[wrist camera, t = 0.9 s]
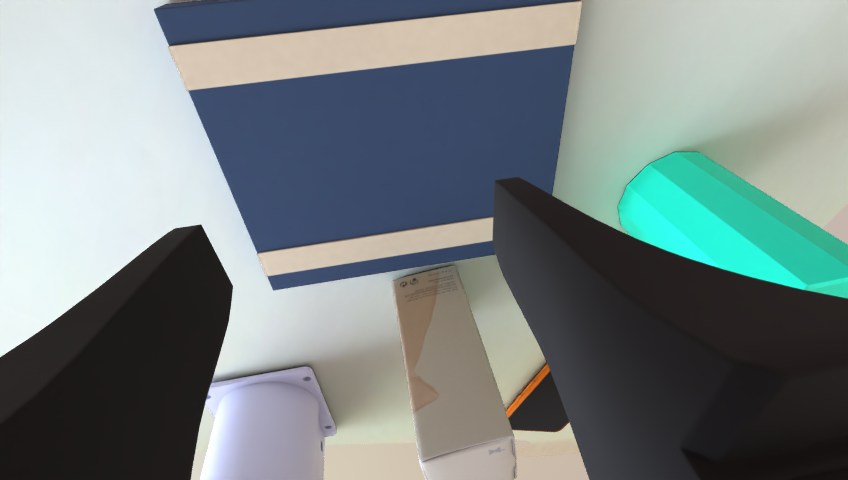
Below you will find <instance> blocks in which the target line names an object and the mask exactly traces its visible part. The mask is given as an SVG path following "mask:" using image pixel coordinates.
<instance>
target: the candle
mask: <svg viewBox="0 0 848 480" xmlns="http://www.w3.org/2000/svg"><path fill="white" fill-rule="evenodd" d="M618 211H619V217H620V223H621V225H622V226H623V228H624V229H625V230H626V231H627V232H628V233H629V234H630V235H631V236H632V237H634V238H636V239H639V240H641V241H644V242H646V243H649V244H651V245H654V246H656V247H659V248H661V249H664V250H667V251H669V252H672V253H675V254H678V255H681V256H683V257H686V258H689V259H693V260H696V261H699V262H702V263H705V264H708V265H711V266H715V267H718V268H721V269H724V270H728V271H731V272H735V273H739V274H742V275H746V276H749V277H753V278H757V279H761V280H765V281H769V282H773V283H778V284H782V285H786V286H790V287H794V288H798V289H803V290H808V291H813V292H818V293H823V294H828V295H833V296H838V297H843V298H848V245H847V244H845V243H844V242H842V241H840V240H839V239H837V238H835V237H834V236H833V235H831V234H829V233H827V232H826V231H825V230H823V229H821V228H820V227H818V226H817V225H815V224H813V223H812V222H810V221H809V220H807V219H805V218H804V217H802V216H801V215H799V214H797V213H796V212H794V211H793V210H791V209H789V208H788V207H786V206H784V205H783V204H781V203H780V202H778V201H776V200H775V199H773V198H772V197H770V196H768V195H767V194H765V193H764V192H762V191H760V190H759V189H757V188H756V187H754V186H752V185H751V184H749V183H748V182H746V181H744V180H743V179H741V178H740V177H738V176H736V175H735V174H733V173H732V172H730V171H728V170H727V169H725V168H724V167H722V166H720V165H719V164H717V163H716V162H714V161H712V160H711V159H709V158H707V157H706V156H704V155H703V154H701V153H699V152H674V153H672V154H669V155H667V156H665V157H663V158H661V159H659V160H657V161H654V162H652V163H650V164H648V165H647V166H646V167H645V168H644V169H643V170H642V171H641V172H640V173H639V174H638V175H637V176H636V177H635V178H634V179H633V180H632V181H631V182H630V183H629V184H628V185H627V187H626V189H625V192H624V194H623V196H622V199H621V201H620V203H619V205H618Z"/></svg>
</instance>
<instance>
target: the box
mask: <svg viewBox="0 0 848 480" xmlns="http://www.w3.org/2000/svg"><path fill="white" fill-rule="evenodd" d="M392 287H393V293H394V299H395V305H396V312H397V318H398V325H399V331H400V338H401V345H402V351H403V357H404V363H405V370H406V377H407V383H408V389H409V395H410V402H411V409H412V415H413V422H414V428H415V435H416V442H417V449H418V456H419V462H420V465H421V468H422V471H423V474H424V476H425V479H426V480H514V479H516V477H517V463H516V449H515V440H514V434H513V431H512V428H511V425H510V422H509V419H508V416H507V413H506V410H505V407H504V404H503V401H502V398H501V395H500V392H499V389H498V386H497V383H496V380H495V378H494V375H493V372H492V369H491V366H490V363H489V360H488V357H487V354H486V351H485V348H484V345H483V342H482V339H481V337H480V334H479V331H478V328H477V325H476V322H475V319H474V317H473V314H472V311H471V308H470V305H469V302H468V299H467V296H466V293H465V291H464V288H463V285H462V282H461V279H460V276H459V273H458V270H457V267H456V266H455V265H453V266H448V267H444V268H439V269H435V270H431V271H427V272H422V273H419V274H414V275H411V276H407V277H403V278H400V279H396V280H393V281H392Z"/></svg>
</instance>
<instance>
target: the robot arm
mask: <svg viewBox="0 0 848 480" xmlns="http://www.w3.org/2000/svg"><path fill="white" fill-rule="evenodd" d="M492 244H493V247H494V250H495V253H496V256H497V259H498V262H499V265H500V268H501V270H502V273H503V276H504V278H505V280H506V282H507V284H508V286H509V288H510V290H511V292H512V294H513V296H514V298H515V299H516V301H517V303H518V305H519V307H520V309H521V311H522V313H523V315H524V317H525V319H526V321H527V323H528V325H529V326H530V328H531V330H532V332H533V334H534V336H535V338H536V340H537V342H538V344H539V346H540V348H541V350H542V352H543V355H544V357H545V359H546V361H547V364H548V366H549V369H550V372H551V374H552V377H553V379H554V382H555V384H556V387H557V390H558V392H559V395H560V397H561V400H562V403H563V406H564V408H565V411H566V414H567V416H568V419H569V422H570V425H571V427H572V430H573V433H574V436H575V439H576V442H577V444H578V447H579V450H580V453H581V456H582V459H583V462H584V465H585V468H586V471H587V474H588V476H589V479H590V480H848V298H843V297H838V296H833V295H828V294H823V293H818V292H813V291H808V290H803V289H798V288H794V287H790V286H786V285H782V284H778V283H773V282H769V281H765V280H761V279H757V278H753V277H749V276H746V275H742V274H739V273H735V272H731V271H728V270H724V269H721V268H718V267H715V266H711V265H708V264H705V263H702V262H699V261H696V260H693V259H689V258H686V257H683V256H681V255H678V254H675V253H672V252H669V251H667V250H664V249H661V248H659V247H656V246H654V245H651V244H649V243H646V242H644V241H641V240H639V239H636V238H634V237H632V236H629V235H627V234H625V233H623V232H620V231H618V230H616V229H614V228H612V227H610V226H608V225H606V224H604V223H602V222H600V221H598V220H596V219H594V218H592V217H590V216H588V215H586V214H584V213H582V212H580V211H579V210H577V209H575V208H573V207H571V206H570V205H568V204H566V203H564V202H562V201H561V200H559V199H557V198H555V197H554V196H552V195H550V194H549V193H547V192H545V191H543V190H542V189H540V188H538V187H536V186H535V185H533V184H531V183H529V182H528V181H526V180H524V179H522V178H520V177H514V178H507V179H500V180H495V186H494V212H493V239H492ZM232 290H233V285H232V284H231V282H230V280H229V278H228V276H227V274H226V272H225V270H224V268H223V266H222V264H221V262H220V260H219V258H218V256H217V254H216V253H215V251H214V249H213V247H212V245H211V243H210V241H209V239H208V237H207V235H206V233H205V231H204V229H203V227H202V225H195V226H189V227H182V228H176V229H173V230H172V231H170V232H169V233H167V234H166V235H164V236H163V237H162V238H160V239H159V240H158V241H156V242H155V243H154V244H152V245H151V246H150V247H149V248H147V249H146V250H145V251H143V252H142V253H141V254H140V255H139V256H137V257H136V258H135V259H134V260H132V261H131V262H130V263H129V264H127V265H126V266H125V267H124V268H122V269H121V270H120V271H119V272H117V273H116V274H115V275H114V276H112V277H111V278H110V279H109V280H107V281H106V282H105V283H104V284H102V285H101V286H100V287H99V288H97V289H96V290H95V291H93V292H92V293H91V294H89V295H88V296H87V297H85V298H84V299H83V300H81V301H80V302H79V303H77V304H76V305H75V306H73V307H72V308H71V309H69V310H68V311H67V312H65V313H64V314H63V315H61V316H60V317H59V318H57V319H56V320H55V321H53V322H52V323H51V324H49V325H48V326H46V327H45V328H44V329H42V330H41V331H39V332H38V333H36V334H35V335H33V336H32V337H30V338H29V339H28V340H26V341H25V342H23V343H22V344H20V345H18V346H17V347H15V348H14V349H12V350H11V351H9V352H8V353H6V354H5V355H3V356H2V357H0V480H190V479H191V472H192V466H193V461H194V455H195V449H196V443H197V438H198V432H199V426H200V422H201V418H202V414H203V410H204V406H205V405H206V407H207V408H208V409H209V411H210V412H211V413H212V415H213V416H214V417H215V423H214V427H213V431H212V435H211V438H210V442H209V446H208V450H207V454H206V458H205V462H204V466H203V470H202V474H201V478H200V480H323V476H324V446H325V437H328V436H333V435H335V434H336V426H335V423H334V421H333V419H332V416H331V414H330V411H329V409H328V406H327V404H326V402H325V399H324V397H323V394H322V392H321V389H320V387H319V385H318V382H317V380H316V377H315V375H314V372H313V370H312V369H311V368H310V367H307V366H306V367H299V368H293V369H288V370H282V371H276V372H271V373H265V374H260V375H254V376H248V377H243V378H237V379H232V380H226V381H220V382H215V383H211V382H212V378H213V375H214V372H215V368H216V365H217V361H218V358H219V354H220V351H221V347H222V344H223V340H224V337H225V333H226V330H227V326H228V322H229V315H230V308H231V299H232Z"/></svg>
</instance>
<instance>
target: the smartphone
mask: <svg viewBox="0 0 848 480" xmlns="http://www.w3.org/2000/svg"><path fill="white" fill-rule="evenodd" d="M506 413H507V416H508V419H509V422H510V425H511V428H512V430H522V431H541V432H558V431H560V430H562V429H563V428H564V427H565V426H566V425H567V424H568V423H569V419H568V416H567V414H566V411H565V408H564V406H563V403H562V400H561V397H560V395H559V392H558V390H557V387H556V384H555V382H554V379H553V377H552V374H551V372H550V369H549V366H548V364H546V365H545V366H544V368H543V369H542V370H541V371H540V372H539V373H538V375H537V376H536V377H535V378H534V379H533V380H532V381H531V383H530V384H529V385H528V386H527V387H526V389H525V390H524V391H523V392H522V393H521V394H520V395H519V397H518V398H517V399H516V400H515V401H514V402H513V404H512V405H511V406H510V407H509V408H508V409H507V411H506Z"/></svg>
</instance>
